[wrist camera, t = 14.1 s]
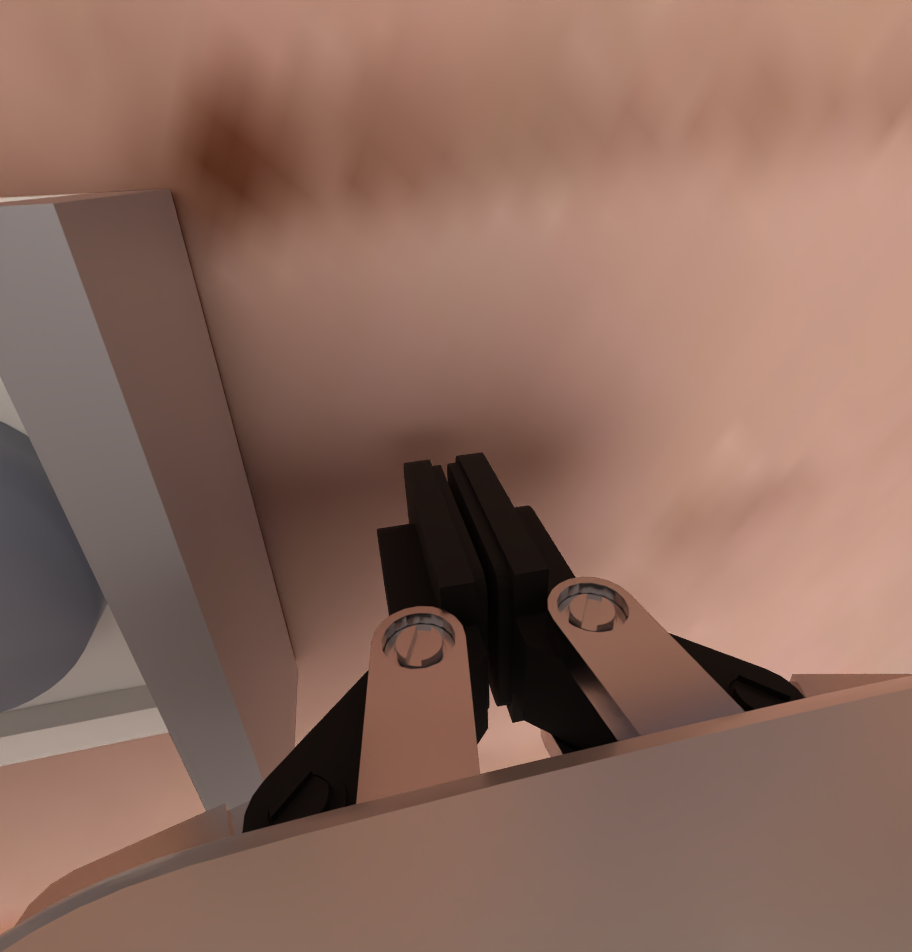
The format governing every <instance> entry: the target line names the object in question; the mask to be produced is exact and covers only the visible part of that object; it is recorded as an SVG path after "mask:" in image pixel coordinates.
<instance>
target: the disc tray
mask: <svg viewBox="0 0 912 952" xmlns="http://www.w3.org/2000/svg"><path fill="white" fill-rule="evenodd" d="M0 421H1V422H3V423H5V424H7V425H9V426H11V427H13V428H14V429H16V430H18V431H20V432H22V433H23V434H25V435H27V436H29V439H30V441H31V443H32V445H33V447H34V449H35V451H36V453H37V455H38V457H39V460H40V462H41V464H42V466H43V468H44V470H45V472H46V474H47V476H48V479H49V481H50V483H51V485H52V487H53V489H54V491H55V493H56V495H57V498H58V500H59V502H60V504H61V506H62V508H63V510H64V512H65V514H66V517H67V519H68V521H69V523H70V525H71V527H72V529H73V531H74V533H75V536H76V538H77V540H78V542H79V544H80V546H81V548H82V550H83V552H84V555H85V557H86V559H87V561H88V563H89V565H90V567H91V569H92V571H93V573H94V576H95V578H96V580H97V582H98V584H99V586H100V588H101V590H102V592H103V595H104V597H105V599H106V601H107V603H108V604H107V606H106V608H105V610H104V612H103V614H102V616H101V618H100V620H99V622H98V624H97V626H96V628H95V630H94V632H93V634H92V636H91V638H90V640H89V642H88V644H87V646H86V648H85V650H84V652H83V653H82V655H81V657H80V658H79V660H78V661H77V663H76V664H75V666H74V667H73V668H72V669H71V670H70V671H69V672H68V673H67V674H66V676H65V677H64V678H63V679H61V680H60V681H59V682H58V683H56V684H55V685H54V686H53V687H52V688H50V689H49V690H47V691H46V692H44V693H42V694H41V695H39V696H38V697H36V698H34V699H33V700H31V701H28V702H26V703H24V704H22V705H20V706H18V707H15V708H13V709H10V710H7V711H4V712H1V713H0V766H5V765H10V764H15V763H20V762H25V761H30V760H35V759H40V758H45V757H49V756H54V755H59V754H64V753H69V752H74V751H79V750H84V749H89V748H94V747H99V746H104V745H109V744H114V743H119V742H124V741H129V740H134V739H138V738H143V737H148V736H153V735H158V734H163V733H168V732H169V734H170V736H171V738H172V740H173V742H174V744H175V746H176V749H177V751H178V753H179V755H180V757H181V759H182V761H183V763H184V765H185V768H186V770H187V772H188V774H189V776H190V778H191V780H192V782H193V784H194V787H195V789H196V791H197V793H198V795H199V797H200V799H201V801H202V803H203V806H204V808H205V810H206V811H209V810H211V809H213V808H215V807H218V806H220V805H222V804H224V803H226V804H227V807H228V809H229V810H230V809H232V808H234V807H237V806H239V805H241V804H243V803H246V802H248V801H250V800H251V798H252V796H253V794H254V793H255V792H256V790H257V789H258V788H259V786H260V785H261V784H262V782H263V781H264V780H265V779H266V778H267V777H268V775H269V774H270V773H271V772H272V771H273V770H274V769H275V768H276V767H277V766H278V765H279V764H280V763H281V762H282V761H283V760H284V759H285V758H286V757H287V755H288V754H289V753H290V752H291V751H292V750H293V749H294V747H295V725H296V704H297V683H298V669H297V665H296V662H295V658H294V654H293V650H292V647H291V643H290V639H289V635H288V631H287V628H286V624H285V620H284V616H283V613H282V609H281V605H280V601H279V598H278V594H277V590H276V586H275V583H274V579H273V575H272V571H271V567H270V564H269V560H268V556H267V552H266V549H265V545H264V541H263V537H262V534H261V530H260V526H259V522H258V519H257V515H256V511H255V507H254V503H253V500H252V496H251V492H250V488H249V485H248V481H247V477H246V473H245V470H244V466H243V462H242V458H241V455H240V451H239V447H238V443H237V439H236V436H235V432H234V428H233V424H232V421H231V417H230V413H229V409H228V406H227V402H226V398H225V394H224V391H223V387H222V383H221V379H220V375H219V372H218V368H217V364H216V360H215V357H214V353H213V349H212V345H211V342H210V338H209V334H208V330H207V327H206V323H205V319H204V315H203V311H202V308H201V304H200V300H199V296H198V293H197V289H196V285H195V281H194V278H193V274H192V270H191V266H190V263H189V259H188V255H187V251H186V247H185V244H184V240H183V236H182V232H181V229H180V225H179V221H178V217H177V214H176V210H175V206H174V202H173V199H172V195H171V191H170V189H158V190H137V191H117V192H96V193H76V194H56V195H35V196H15V197H0Z"/></svg>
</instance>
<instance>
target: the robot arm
mask: <svg viewBox="0 0 912 952" xmlns="http://www.w3.org/2000/svg"><path fill="white" fill-rule="evenodd" d="M447 475H448V482H447V479H446V477H445V474H444V472H443V470H442V467H441V465H437V466H432V464H431V462H430V460H424V461H416V462H409V463H404V478H405V488H406V497H407V507H408V517H409V524H406V525H399V526H393V527H386V528H380V529H377V535H378V542H379V550H380V557H381V564H382V571H383V578H384V585H385V592H386V599H387V605H388V612H389V617H388V618H387V619H385V620H384V621H383V622H382V623H381V624H380V625H379V627H378V628H377V629H376V631H375V632H374V636H373V639H372V642H371V652H370V663H369V670H368V671H367V672H366V673H365V674H364V675H363V676H362V677H361V679H360V680H359V681H358V682H357V683H356V684H355V685H354V686H353V687H352V688H351V689H350V690H349V691H348V692H347V693H346V694H345V695H344V696H343V697H342V699H341V700H340V701H339V702H338V703H337V704H336V705H335V706H334V707H333V708H332V709H331V710H330V711H329V712H328V713H327V714H326V715H325V716H324V718H323V719H322V720H321V721H320V722H319V723H318V724H317V725H316V726H315V727H314V728H313V729H312V730H311V731H310V732H309V733H308V734H307V735H306V736H305V738H304V739H303V740H302V741H301V742H300V743H299V744H298V745H297V746H296V747H295V748H294V749H293V750H292V751H291V752H290V753H289V754H288V755H287V757H286V758H285V759H284V760H283V761H282V762H281V763H280V764H279V765H278V766H277V767H276V768H275V769H274V770H273V771H272V772H271V773H270V774H269V775H268V777H267V778H266V779H265V780H264V781H263V782H262V784H261V785H260V786H259V788H258V789H257V790H256V792H255V793H254V794H253V796H252V798H251V800H250V801H248V802H246V803H243V804H241V805H239V806H237V807H234V808H232V809H230V810H229V809H228V807H227V804H226V803H224V804H222V805H220V806H218V807H215V808H213V809H211V810H209V811H206V812H204V813H202V814H200V815H197V816H195V817H193V818H191V819H188V820H186V821H184V822H182V823H179V824H177V825H175V826H173V827H170V828H168V829H166V830H164V831H161V832H159V833H157V834H155V835H153V836H150V837H148V838H146V839H144V840H141V841H139V842H137V843H135V844H132V845H130V846H128V847H126V848H123V849H121V850H119V851H117V852H114V853H112V854H110V855H108V856H105V857H103V858H101V859H99V860H96V861H94V862H92V863H90V864H88V865H85V866H83V867H81V868H79V869H76V870H74V871H72V872H71V873H69V874H67V875H66V876H64V877H62V878H61V879H59V880H57V881H56V882H54V883H52V884H51V885H50V886H49V887H48V888H47V889H45V890H44V891H43V892H42V893H41V894H40V895H39V896H38V897H37V898H36V899H35V900H34V901H33V902H32V903H31V904H30V905H29V906H28V907H27V909H26V910H25V912H24V913H23V915H22V916H21V918H20V919H19V921H18V922H17V923H16V925H15V926H14V927H13V928H11V929H9V930H8V931H6V932H4V933H3V934H1V935H0V952H912V674H792V677H791V679H790V682H788V681H787V680H786V679H784V678H783V677H781V676H779V675H777V674H775V673H773V672H771V671H769V670H767V669H765V668H762V667H759V666H757V665H754V664H751V663H748V662H746V661H743V660H740V659H738V658H735V657H732V656H730V655H727V654H724V653H721V652H719V651H716V650H713V649H711V648H708V647H705V646H702V645H700V644H697V643H694V642H692V641H689V640H686V639H683V638H681V637H678V636H675V635H673V634H670V633H668V632H667V631H666V630H665V629H664V628H663V627H662V626H661V625H660V624H659V623H658V622H657V621H656V620H655V619H654V618H653V617H652V616H651V615H650V614H649V613H648V612H647V611H646V610H645V609H644V608H643V607H642V606H641V605H640V603H639V602H638V601H637V600H636V599H635V598H634V597H633V596H632V595H631V594H630V593H628V592H627V591H626V590H624V589H623V588H622V587H621V586H619V585H617V584H614V583H612V582H610V581H608V580H604V579H600V578H595V577H578V578H576V577H575V576H574V574H573V573H572V571H571V569H570V568H569V566H568V565H567V563H566V561H565V560H564V558H563V557H562V555H561V553H560V552H559V550H558V549H557V547H556V545H555V544H554V542H553V541H552V539H551V537H550V536H549V534H548V533H547V531H546V529H545V528H544V526H543V525H542V523H541V521H540V520H539V518H538V517H537V515H536V513H535V512H534V510H533V509H532V508H531V507H530V506H522V507H515V508H514V506H513V505H512V503H511V501H510V499H509V498H508V496H507V494H506V492H505V491H504V489H503V487H502V485H501V484H500V482H499V480H498V478H497V477H496V475H495V473H494V471H493V470H492V468H491V466H490V464H489V463H488V461H487V459H486V457H485V456H484V454H483V453H475V454H468V455H460V456H456V463H451V464H448V465H447ZM489 685H490V688H491V691H492V694H493V697H494V700H495V703H496V705H497V706H503V705H507V708H508V711H509V714H510V717H511V720H512V723H514V722H519V721H523V720H524V721H526V722H528V723H530V724H532V725H534V726H536V727H538V728H540V729H541V738H542V740H543V743H544V746H545V748H546V749H547V751H548V753H549V755H550V756H551V757H550V758H546V759H542V760H538V761H533V762H529V763H525V764H521V765H516V766H512V767H508V768H504V769H500V770H496V771H491V772H487V773H483V774H480V768H479V758H478V749H477V744H478V743H479V741H480V740H481V738H482V737H483V735H484V734H485V732H486V731H487V729H488V709H489Z"/></svg>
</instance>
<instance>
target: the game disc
mask: <svg viewBox="0 0 912 952" xmlns="http://www.w3.org/2000/svg"><path fill="white" fill-rule="evenodd" d="M107 604H108V603H107V601H106V599H105V597H104V595H103V592H102V590H101V588H100V586H99V584H98V582H97V580H96V578H95V576H94V573H93V571H92V569H91V567H90V565H89V563H88V561H87V559H86V557H85V555H84V552H83V550H82V548H81V546H80V544H79V542H78V540H77V538H76V536H75V533H74V531H73V529H72V527H71V525H70V523H69V521H68V519H67V517H66V514H65V512H64V510H63V508H62V506H61V504H60V502H59V500H58V498H57V495H56V493H55V491H54V489H53V487H52V485H51V483H50V481H49V479H48V476H47V474H46V472H45V470H44V468H43V466H42V464H41V462H40V460H39V457H38V455H37V453H36V451H35V449H34V447H33V445H32V443H31V441H30V439H29V436H27V435H25V434H23V433H22V432H20V431H18V430H16V429H14V428H13V427H11V426H9V425H7V424H5V423H3V422H1V421H0V713H1V712H4V711H7V710H10V709H13V708H15V707H18V706H20V705H22V704H24V703H26V702H28V701H31V700H33V699H34V698H36V697H38V696H39V695H41V694H42V693H44V692H46V691H47V690H49V689H50V688H52V687H53V686H54V685H55V684H56V683H58V682H59V681H60V680H61V679H63V678H64V677H65V676H66V674H67V673H68V672H69V671H70V670H71V669H72V668H73V667H74V666H75V664H76V663H77V661H78V660H79V658H80V657H81V655H82V653H83V652H84V650H85V648H86V646H87V644H88V642H89V640H90V638H91V636H92V634H93V632H94V630H95V628H96V626H97V624H98V622H99V620H100V618H101V616H102V614H103V612H104V610H105V608H106V606H107Z"/></svg>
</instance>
